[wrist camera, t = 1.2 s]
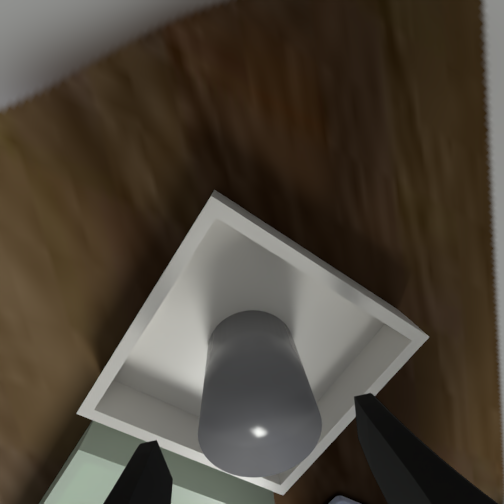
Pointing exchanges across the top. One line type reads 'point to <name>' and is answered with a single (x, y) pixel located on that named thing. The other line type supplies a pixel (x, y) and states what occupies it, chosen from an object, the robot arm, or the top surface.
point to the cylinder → (256, 398)
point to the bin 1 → (237, 300)
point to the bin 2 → (117, 457)
